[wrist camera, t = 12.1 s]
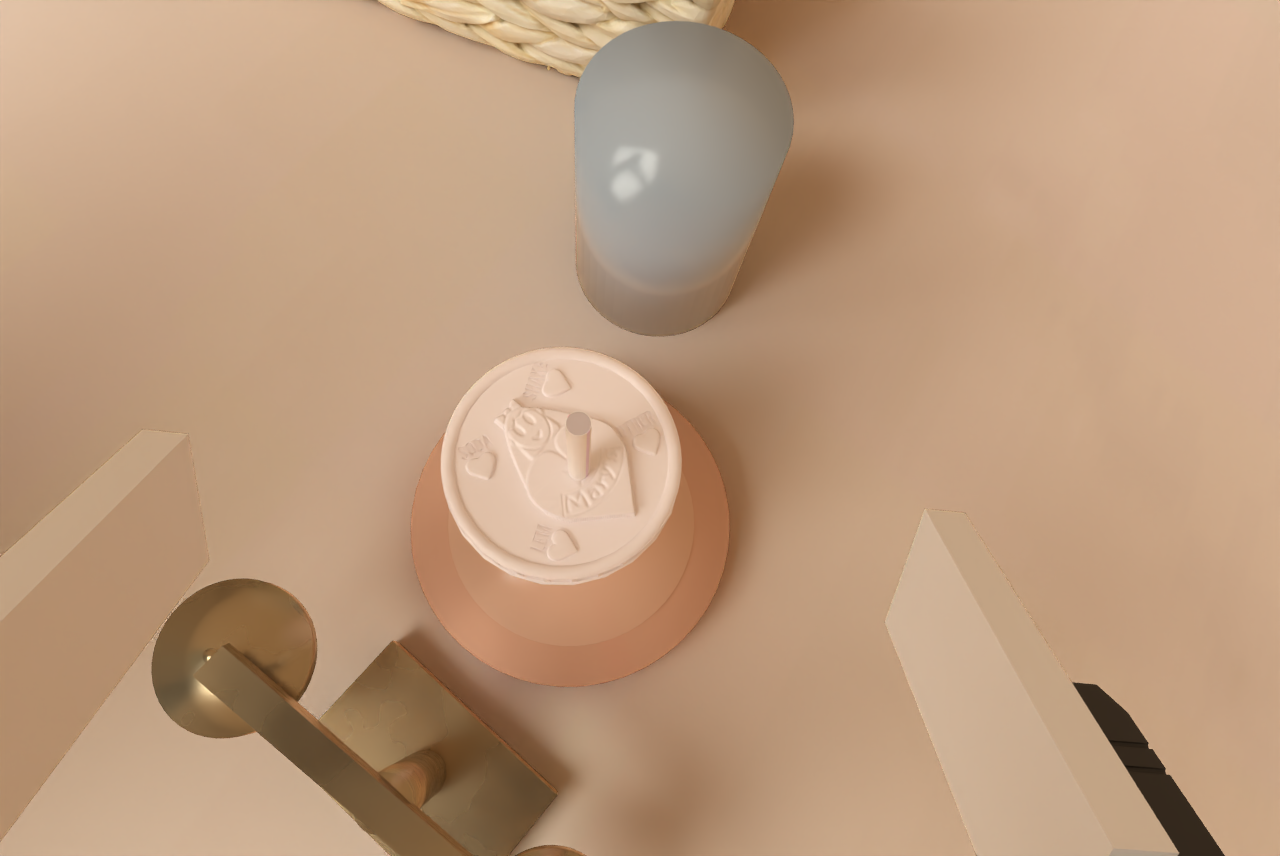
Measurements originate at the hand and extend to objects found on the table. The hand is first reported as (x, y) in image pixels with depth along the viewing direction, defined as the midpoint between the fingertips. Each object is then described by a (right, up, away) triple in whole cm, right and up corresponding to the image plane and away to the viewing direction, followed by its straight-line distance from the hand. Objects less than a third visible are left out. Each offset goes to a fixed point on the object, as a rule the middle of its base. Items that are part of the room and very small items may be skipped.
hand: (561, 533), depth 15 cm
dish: (-1, -2, +17) cm, 17 cm away
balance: (-6, -10, +14) cm, 18 cm away
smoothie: (-1, -2, +16) cm, 16 cm away
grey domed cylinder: (+2, +9, +20) cm, 22 cm away
